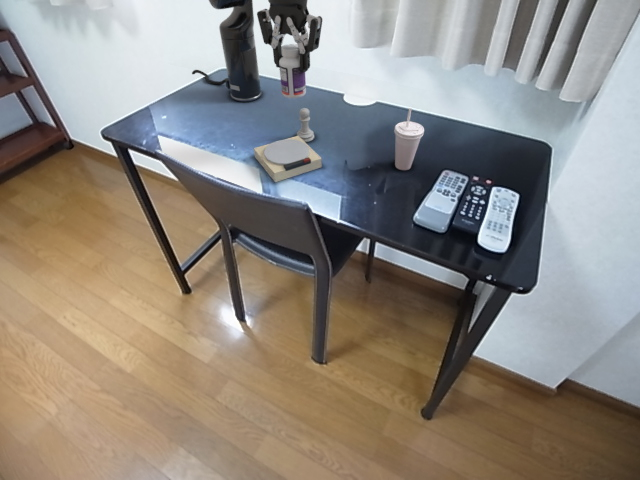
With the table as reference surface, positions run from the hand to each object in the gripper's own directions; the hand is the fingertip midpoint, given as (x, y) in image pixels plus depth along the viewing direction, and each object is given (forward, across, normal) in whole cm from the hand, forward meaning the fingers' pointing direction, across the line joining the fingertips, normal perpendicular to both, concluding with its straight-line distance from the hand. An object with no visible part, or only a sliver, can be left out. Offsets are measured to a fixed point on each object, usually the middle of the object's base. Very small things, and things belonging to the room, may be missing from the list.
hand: (292, 68), depth 79 cm
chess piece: (+20, -1, +6) cm, 21 cm away
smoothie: (+20, +26, +6) cm, 33 cm away
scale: (+20, +1, -6) cm, 21 cm away
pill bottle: (+6, 0, 0) cm, 6 cm away
